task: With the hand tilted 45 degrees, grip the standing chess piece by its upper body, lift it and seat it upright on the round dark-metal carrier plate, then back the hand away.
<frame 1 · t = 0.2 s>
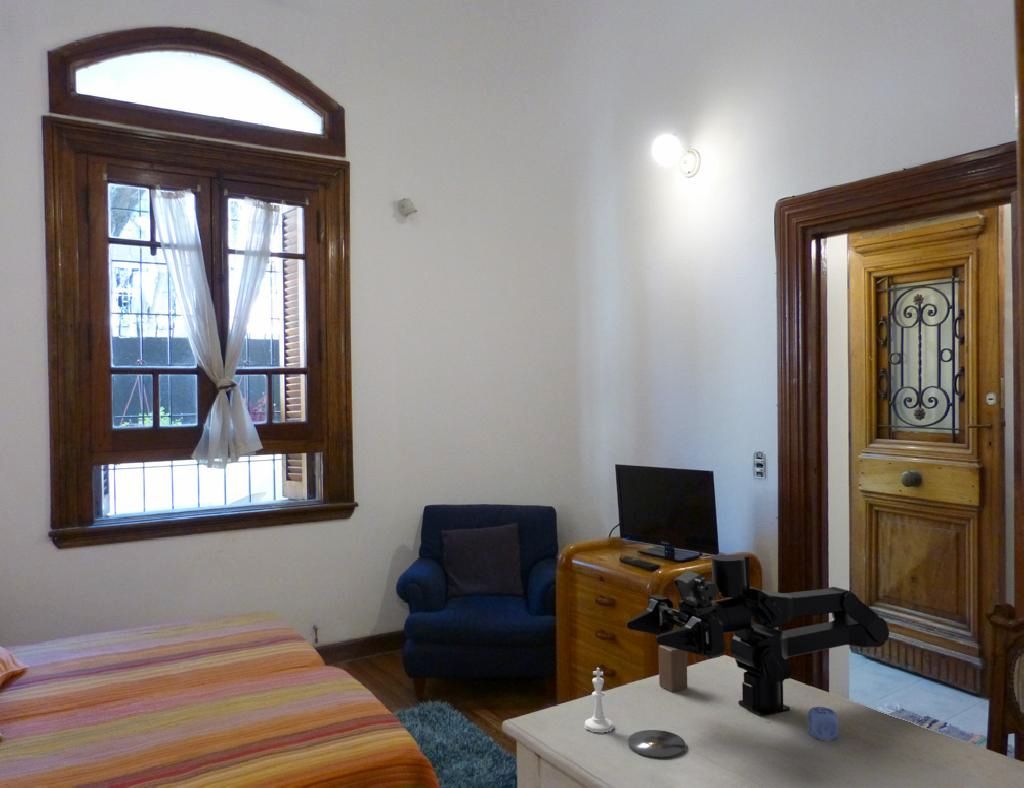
hand: (641, 632, 128), 17 cm above the table, tool horizontal, fingers open, 9 cm apart
carrier plate: (656, 745, 122), on the table
decorative dice: (823, 736, 125), on the table
wooden block: (673, 688, 147), on the table
chess piece: (598, 728, 130), on the table
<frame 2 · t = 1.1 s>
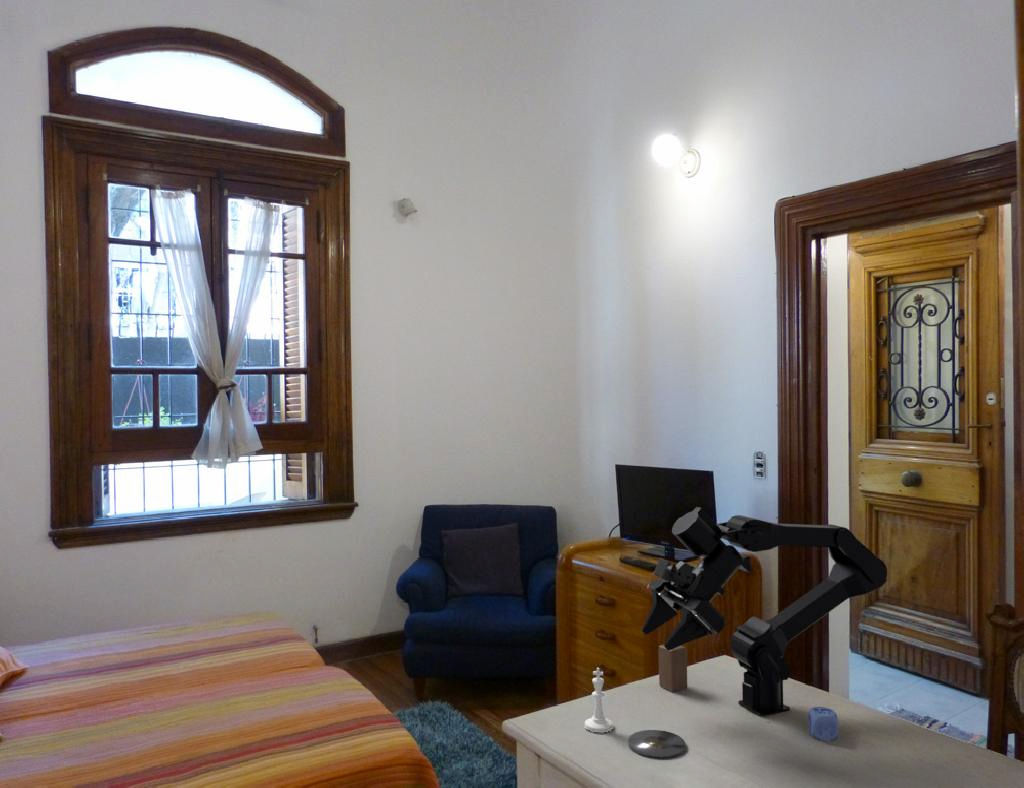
hand: (654, 640, 132), 14 cm above the table, tool tilted 45°, fingers open, 9 cm apart
nothing on the table moved.
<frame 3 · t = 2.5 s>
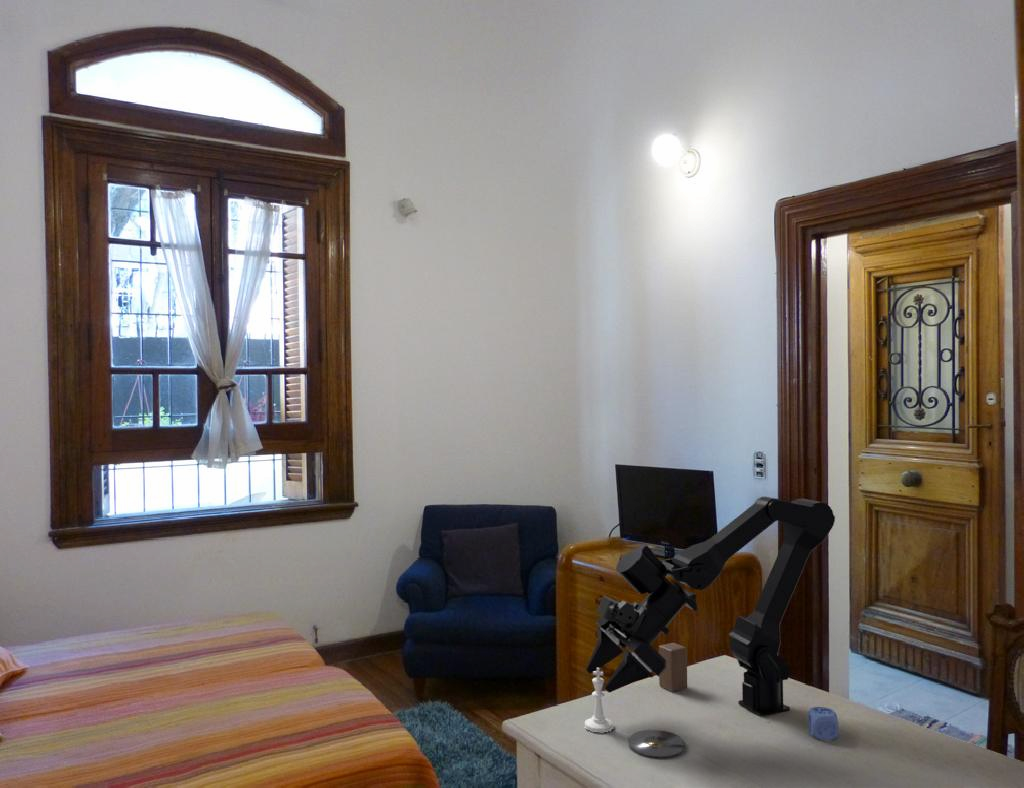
hand: (596, 680, 130), 8 cm above the table, tool tilted 45°, fingers open, 9 cm apart
nothing on the table moved.
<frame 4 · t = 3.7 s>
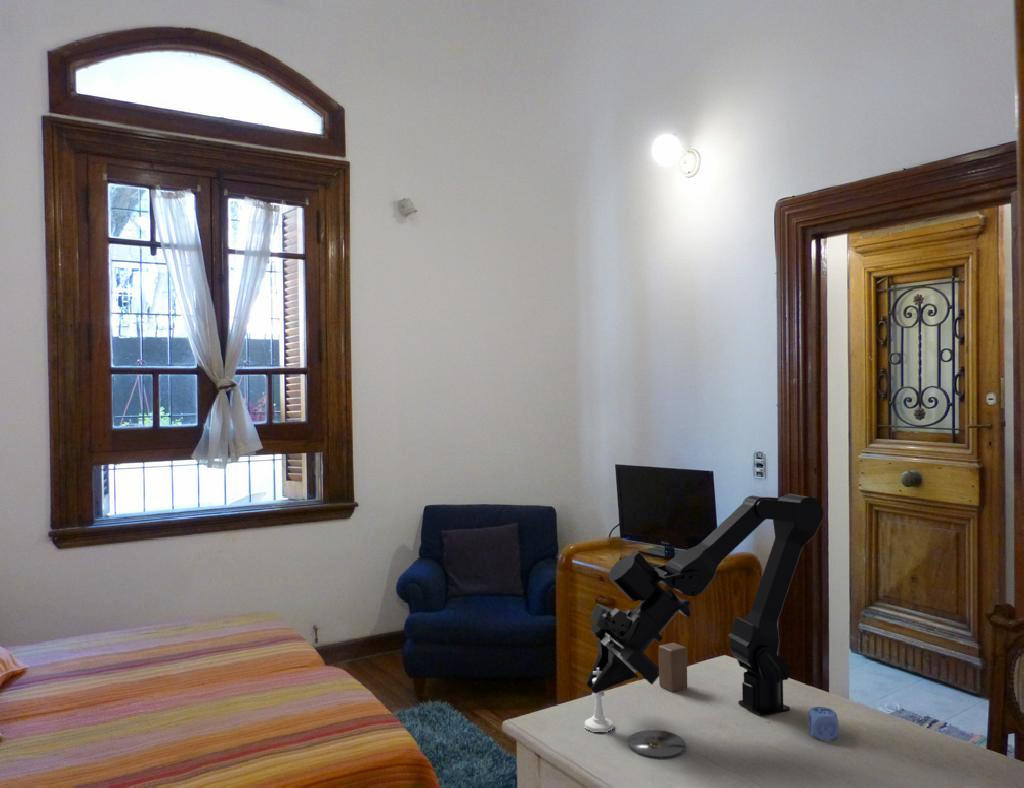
hand: (590, 688, 129), 7 cm above the table, tool tilted 45°, fingers closed on chess piece
chess piece: (598, 728, 130), on the table, touching gripper
everything else where it was.
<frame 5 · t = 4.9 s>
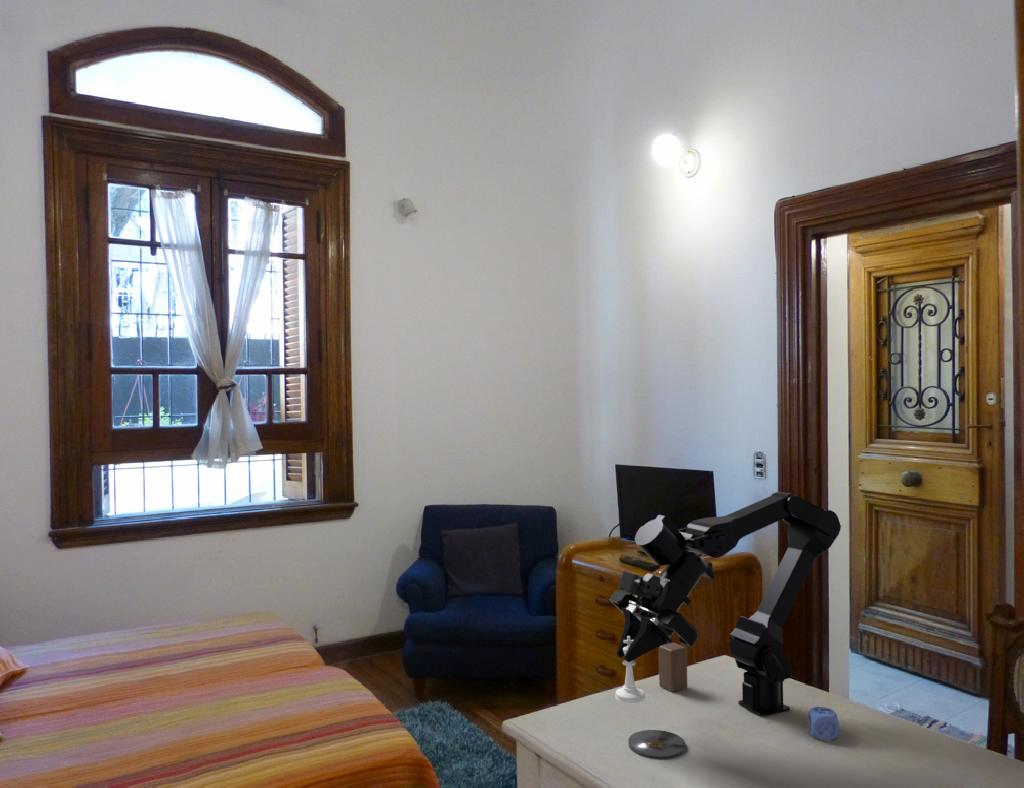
hand: (622, 658, 125), 13 cm above the table, tool tilted 45°, fingers closed on chess piece
chess piece: (630, 698, 126), point 6 cm above the table, touching gripper
everything else where it was.
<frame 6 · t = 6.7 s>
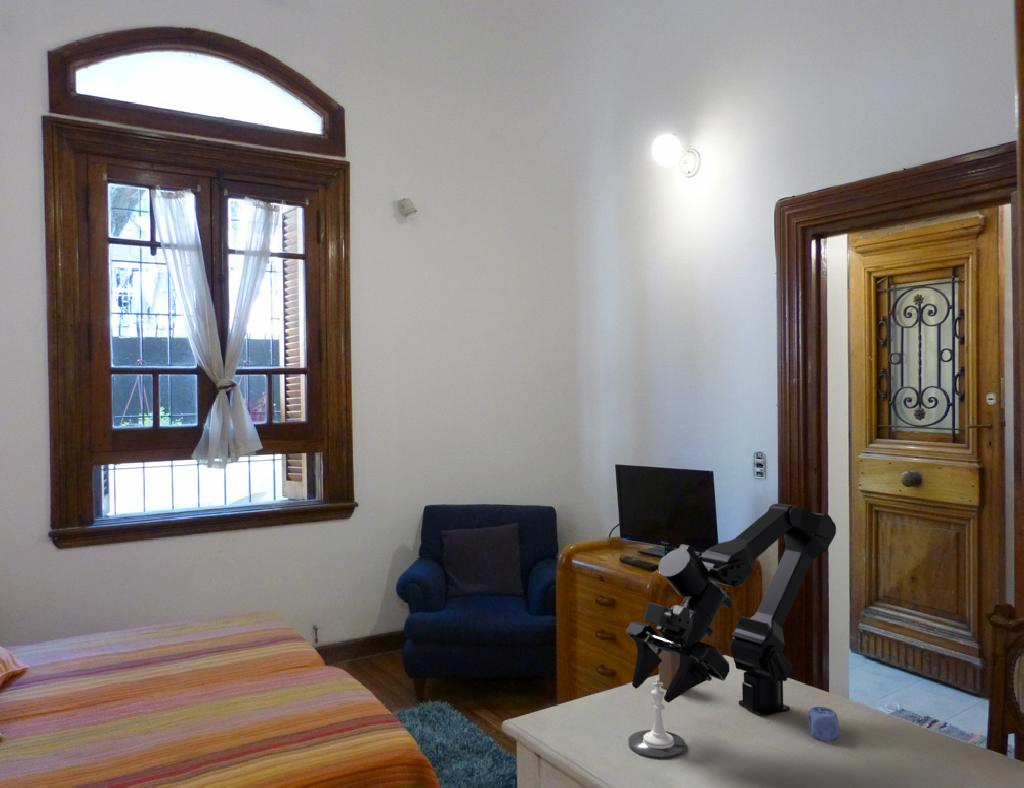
hand: (649, 693, 122), 9 cm above the table, tool tilted 45°, fingers open, 7 cm apart
chess piece: (658, 743, 122), resting on carrier plate
everything else where it was.
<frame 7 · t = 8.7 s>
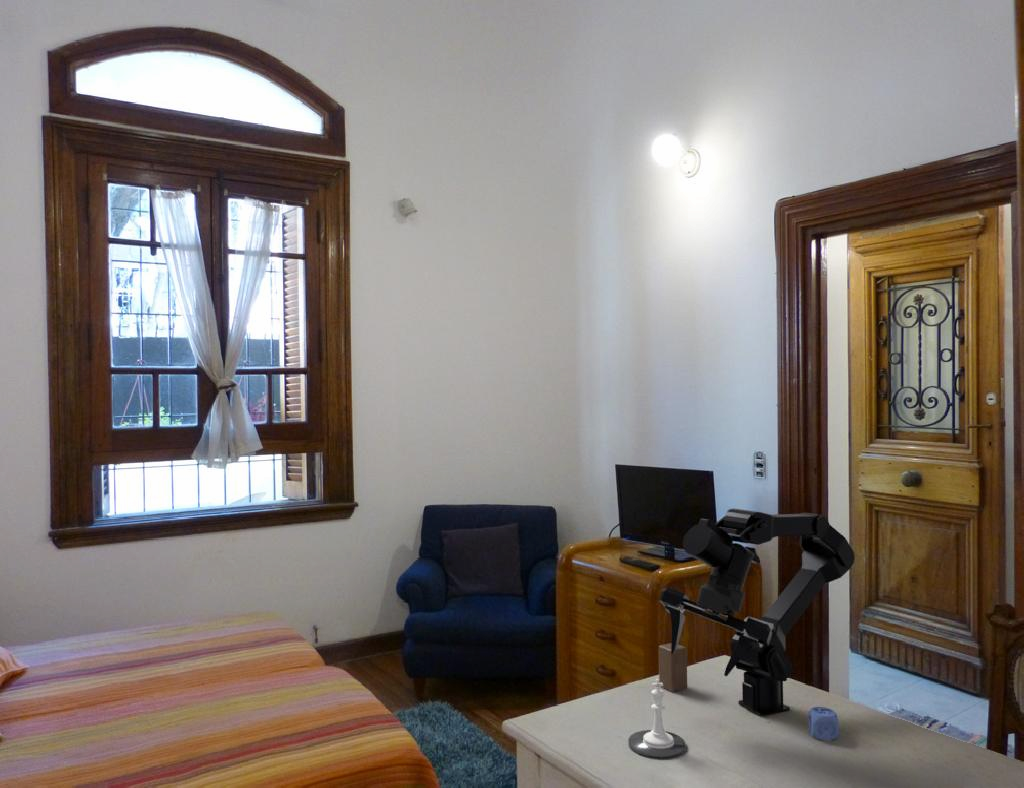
hand: (698, 664, 128), 11 cm above the table, tool tilted 30°, fingers open, 9 cm apart
nothing on the table moved.
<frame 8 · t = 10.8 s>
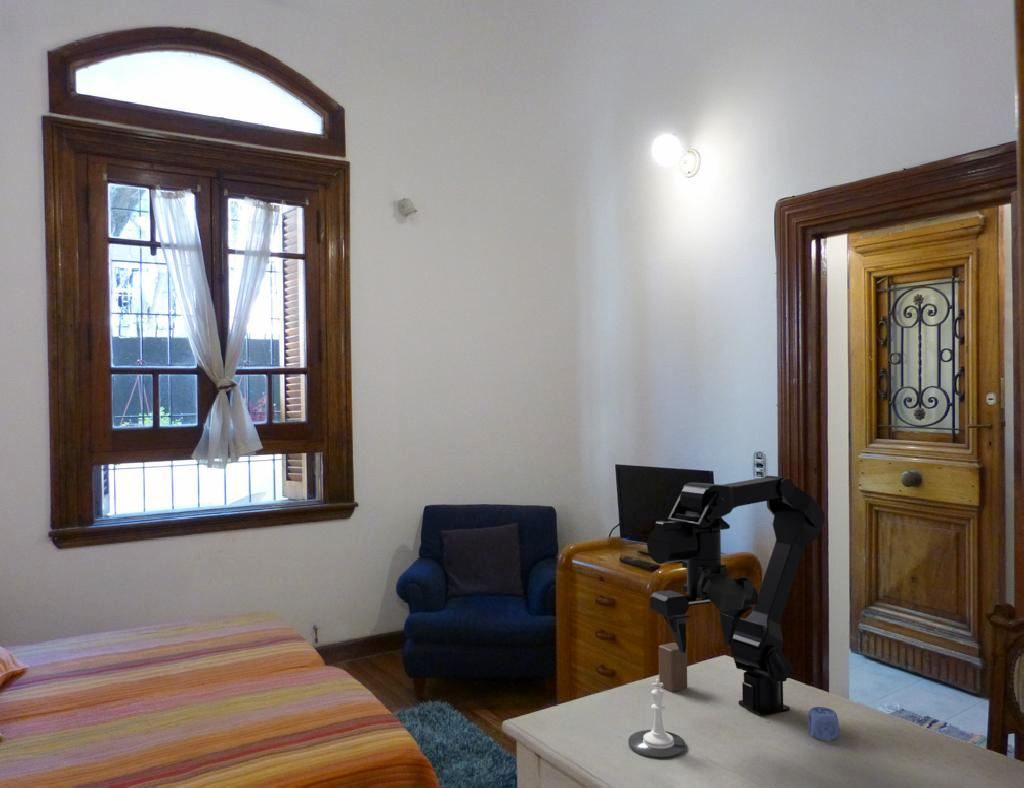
hand: (705, 648, 130), 13 cm above the table, tool pointing down, fingers open, 9 cm apart
nothing on the table moved.
at the end: chess piece 0.3 cm from the carrier plate (horizontally); chess piece tilted 0°; the gripper is holding nothing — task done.
